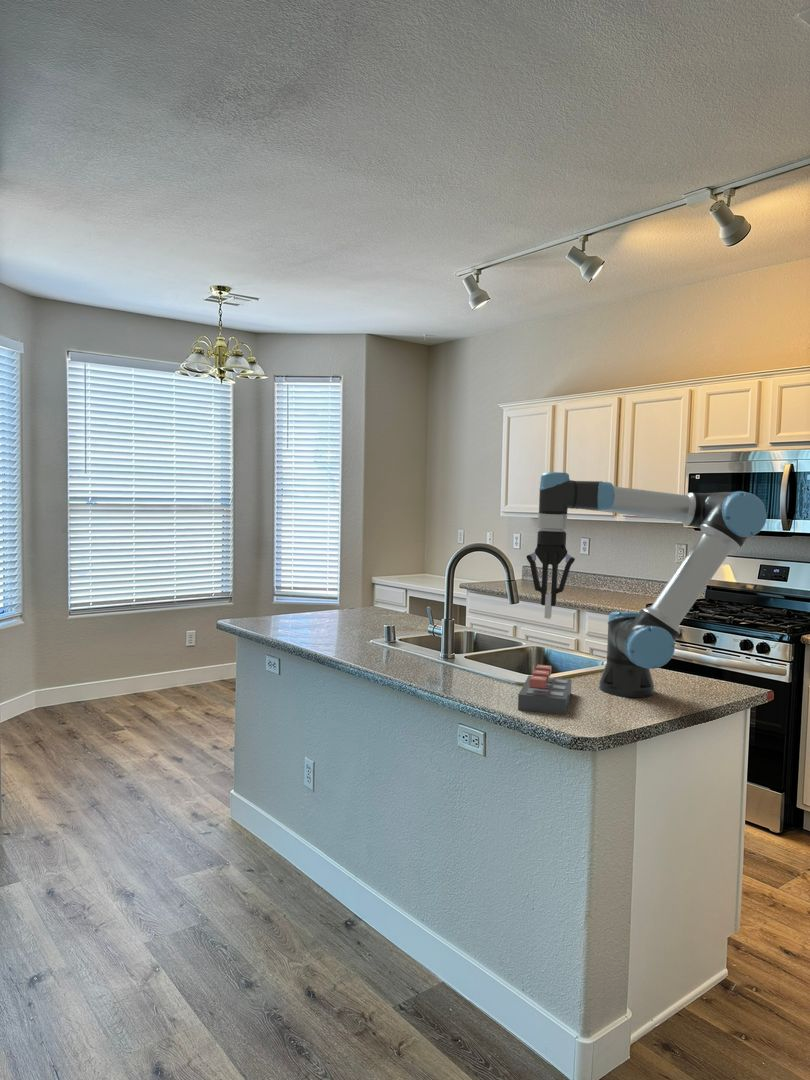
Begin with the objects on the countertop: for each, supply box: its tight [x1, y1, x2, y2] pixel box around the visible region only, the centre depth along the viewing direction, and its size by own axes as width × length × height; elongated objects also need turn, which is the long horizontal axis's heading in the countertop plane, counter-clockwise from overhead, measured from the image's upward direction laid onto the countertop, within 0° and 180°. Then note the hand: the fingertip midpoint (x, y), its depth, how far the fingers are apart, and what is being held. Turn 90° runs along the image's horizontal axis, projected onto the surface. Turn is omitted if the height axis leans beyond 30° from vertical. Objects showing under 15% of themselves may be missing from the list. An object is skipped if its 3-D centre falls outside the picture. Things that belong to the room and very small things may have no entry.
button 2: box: [532, 669, 550, 682], centre depth 201 cm, size 4×4×2 cm
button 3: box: [529, 675, 547, 688], centre depth 195 cm, size 4×4×2 cm
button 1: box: [535, 664, 553, 677], centre depth 208 cm, size 4×4×2 cm
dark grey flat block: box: [517, 675, 573, 715], centre depth 203 cm, size 12×25×4 cm, turn 164°
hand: (547, 617), depth 200 cm, fingers closed
